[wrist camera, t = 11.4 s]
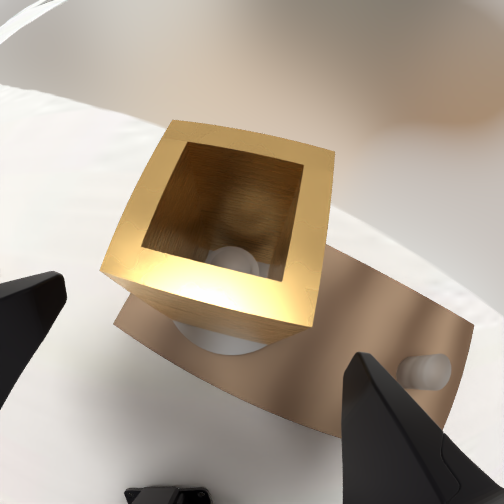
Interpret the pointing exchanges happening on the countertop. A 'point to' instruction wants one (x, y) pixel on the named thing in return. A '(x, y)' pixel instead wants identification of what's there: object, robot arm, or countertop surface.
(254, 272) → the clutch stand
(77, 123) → the countertop surface
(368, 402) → the robot arm
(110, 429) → the countertop surface
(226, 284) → the gold square tube
